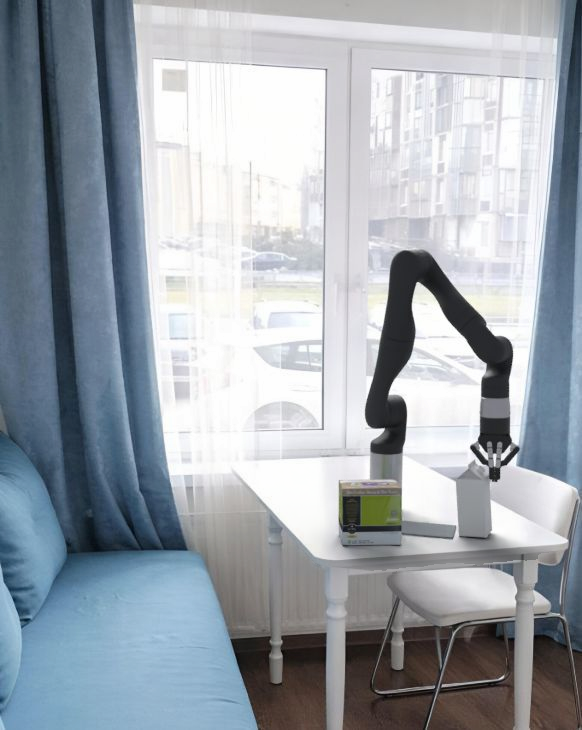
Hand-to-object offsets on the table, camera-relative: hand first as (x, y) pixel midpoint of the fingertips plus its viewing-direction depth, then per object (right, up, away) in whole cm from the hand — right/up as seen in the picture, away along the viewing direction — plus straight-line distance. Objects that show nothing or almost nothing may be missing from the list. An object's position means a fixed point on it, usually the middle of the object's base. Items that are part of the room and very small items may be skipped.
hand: (494, 481), depth 212 cm
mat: (-19, -14, +6) cm, 24 cm away
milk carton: (-4, -14, +2) cm, 15 cm away
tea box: (-32, -15, -3) cm, 36 cm away
